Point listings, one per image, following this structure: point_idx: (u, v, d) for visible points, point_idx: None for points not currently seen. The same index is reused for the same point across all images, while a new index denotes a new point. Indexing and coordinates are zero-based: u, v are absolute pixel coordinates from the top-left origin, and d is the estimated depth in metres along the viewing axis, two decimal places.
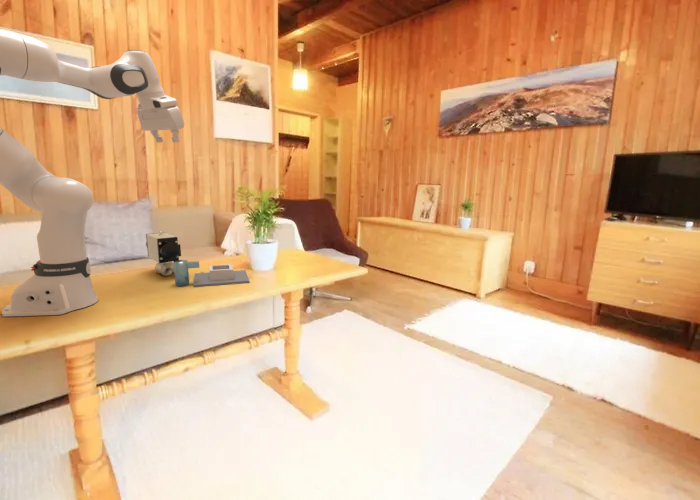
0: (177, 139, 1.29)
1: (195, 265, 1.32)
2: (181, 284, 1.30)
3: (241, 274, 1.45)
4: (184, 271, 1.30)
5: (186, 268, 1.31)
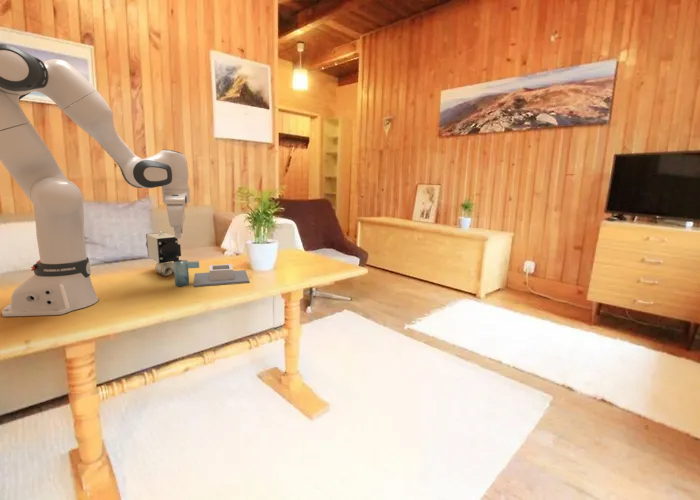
0: (178, 235, 1.24)
1: (195, 265, 1.32)
2: (181, 284, 1.30)
3: (241, 274, 1.45)
4: (184, 271, 1.30)
5: (186, 268, 1.31)
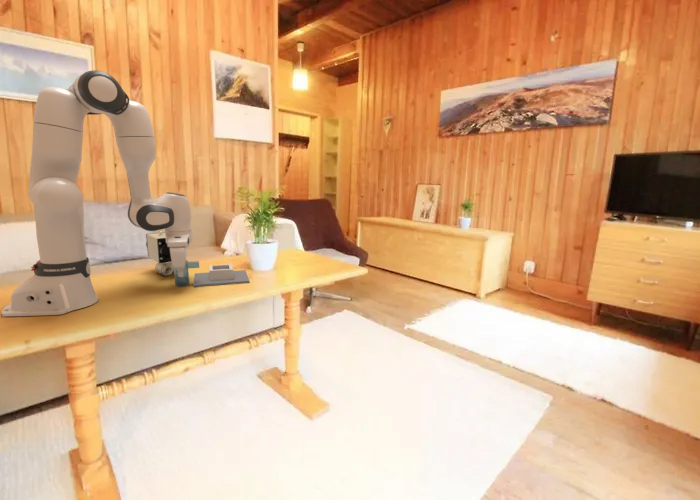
0: (181, 274, 1.28)
1: (195, 265, 1.32)
2: (181, 284, 1.30)
3: (241, 274, 1.45)
4: (184, 271, 1.30)
5: (186, 268, 1.31)
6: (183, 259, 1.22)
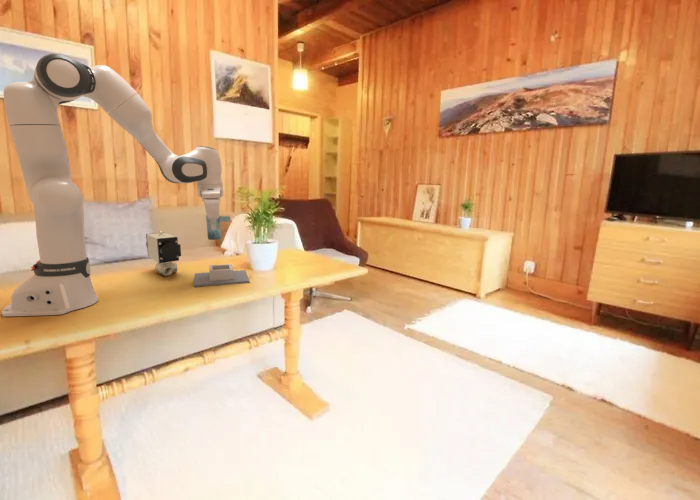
0: (214, 227, 1.33)
1: (227, 219, 1.36)
2: (214, 237, 1.35)
3: (241, 274, 1.45)
4: (216, 224, 1.34)
5: (218, 222, 1.35)
6: (217, 210, 1.26)
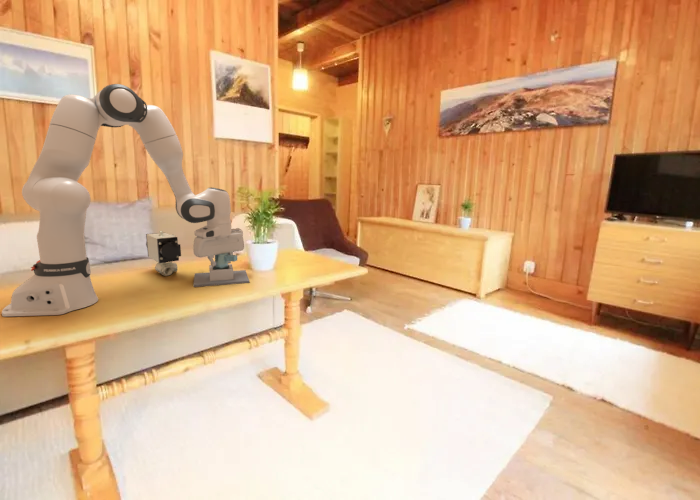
0: (212, 264, 1.37)
1: (231, 259, 1.37)
2: None
3: (241, 274, 1.45)
4: (220, 262, 1.38)
5: (223, 260, 1.38)
6: (198, 249, 1.30)
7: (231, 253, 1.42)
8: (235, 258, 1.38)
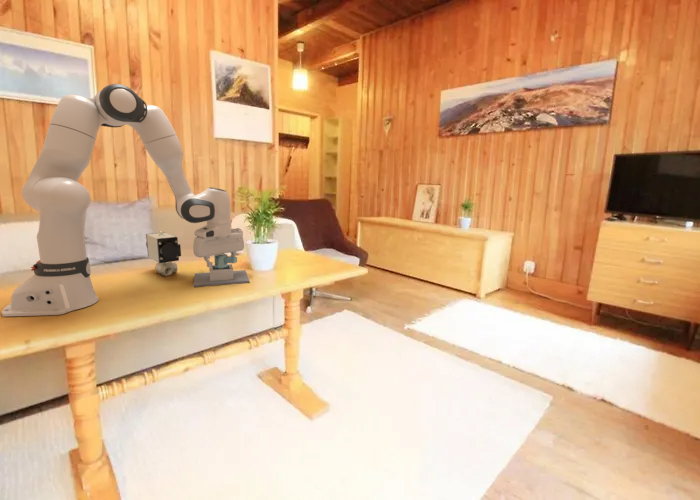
0: (208, 265, 1.36)
1: (231, 260, 1.38)
2: None
3: (241, 274, 1.45)
4: (220, 264, 1.38)
5: (223, 262, 1.38)
6: (198, 249, 1.30)
7: (234, 252, 1.43)
8: (235, 260, 1.38)
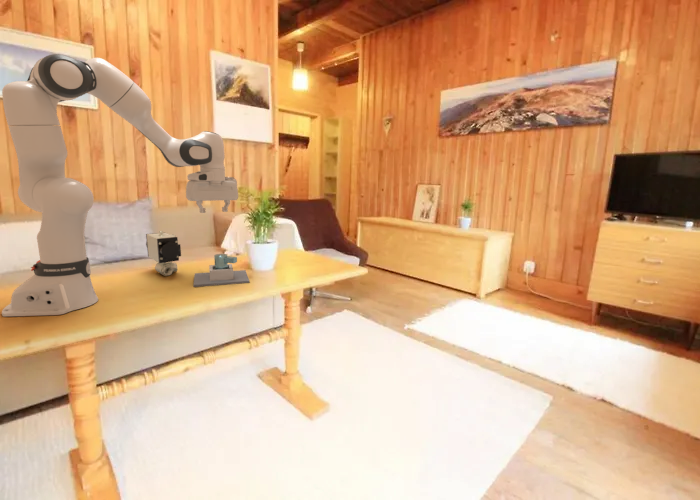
0: (201, 210, 1.35)
1: (231, 260, 1.38)
2: None
3: (241, 274, 1.45)
4: (220, 264, 1.38)
5: (223, 262, 1.38)
6: (190, 192, 1.29)
7: (228, 201, 1.42)
8: (235, 260, 1.38)
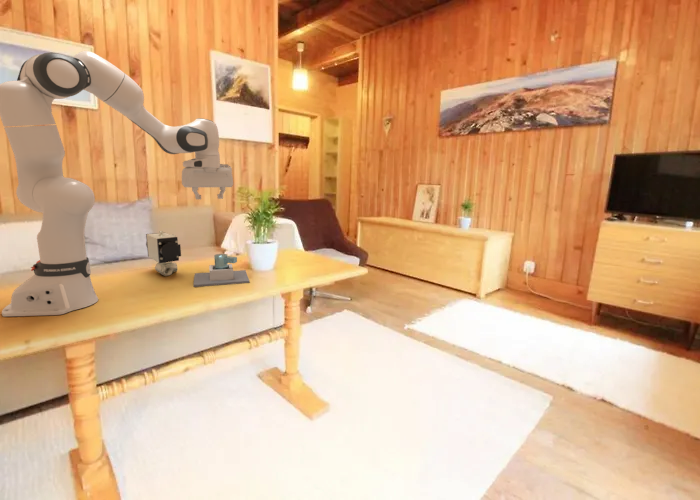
0: (196, 197, 1.37)
1: (231, 260, 1.38)
2: None
3: (241, 274, 1.45)
4: (220, 264, 1.38)
5: (223, 262, 1.38)
6: (186, 178, 1.31)
7: (223, 188, 1.44)
8: (235, 260, 1.38)
